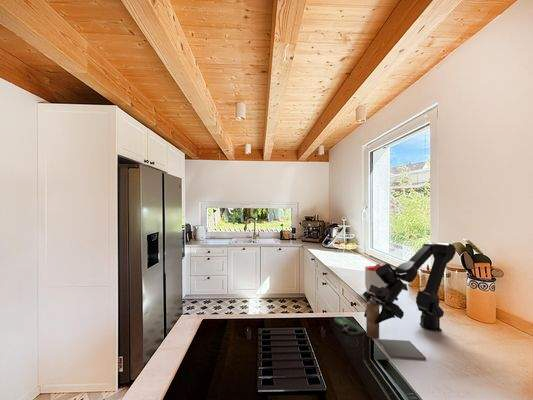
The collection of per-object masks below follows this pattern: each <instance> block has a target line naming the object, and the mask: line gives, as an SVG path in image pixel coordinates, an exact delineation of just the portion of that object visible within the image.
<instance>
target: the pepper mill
mask: <svg viewBox="0 0 533 400" xmlns="http://www.w3.org/2000/svg"><path fill="white" fill-rule="evenodd" d="M365 306H366V309H365V311H366V317H365V318H366V319H365V320H366V322H365V324H366V327H365V334H366V336H367V337H368V338H369V339H373V340H375V339H380V323H378V324H376V323H375V320H376V318H377V317H378V315H379V314H380V305H379V304H378V303H376V300H373V299H370V302H367V301H366V305H365Z"/></svg>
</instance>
